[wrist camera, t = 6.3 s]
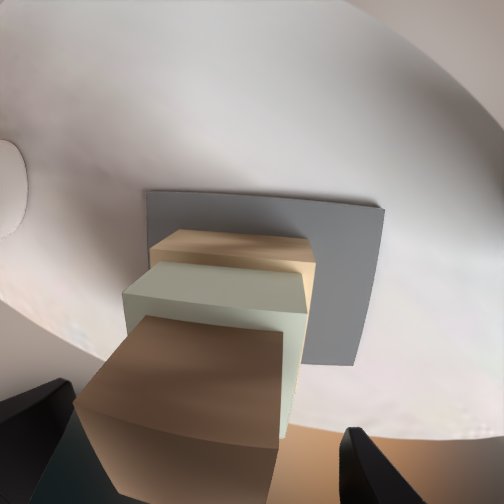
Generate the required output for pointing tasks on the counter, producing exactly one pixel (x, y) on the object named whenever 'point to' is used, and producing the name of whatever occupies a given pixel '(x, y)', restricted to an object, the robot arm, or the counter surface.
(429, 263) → the counter surface
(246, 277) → the tower mid
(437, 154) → the counter surface
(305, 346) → the slate board
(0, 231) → the pill bottle
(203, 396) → the walnut block
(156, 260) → the tower base
